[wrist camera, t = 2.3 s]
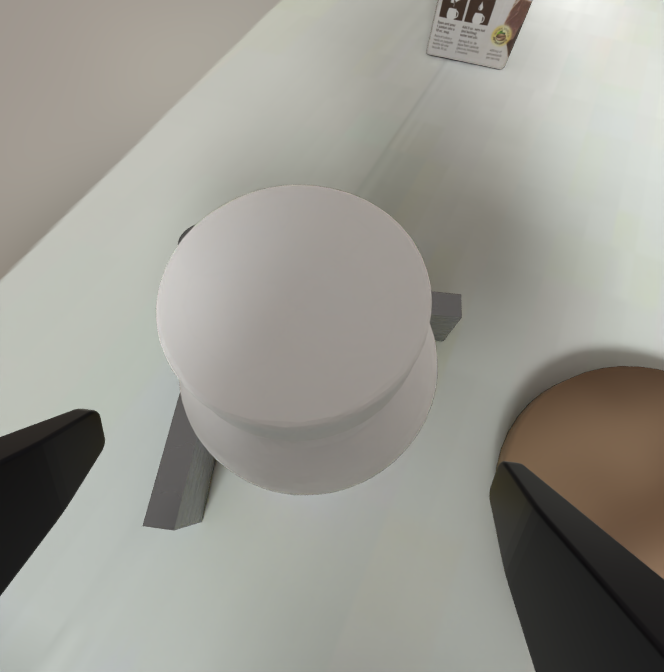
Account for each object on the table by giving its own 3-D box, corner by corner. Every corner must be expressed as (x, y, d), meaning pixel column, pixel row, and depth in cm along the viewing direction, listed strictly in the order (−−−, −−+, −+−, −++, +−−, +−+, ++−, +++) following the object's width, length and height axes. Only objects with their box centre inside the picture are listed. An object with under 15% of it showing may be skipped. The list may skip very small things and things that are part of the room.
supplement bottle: (305, 329, 20) (263, 97, 8) (412, 397, 18) (560, 239, 6) (225, 434, 18) (2, 336, 6) (339, 520, 16) (355, 623, 4)
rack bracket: (442, 554, 16) (502, 594, 10) (166, 517, 16) (80, 535, 11) (443, 314, 20) (485, 249, 14) (225, 291, 21) (185, 220, 15)
